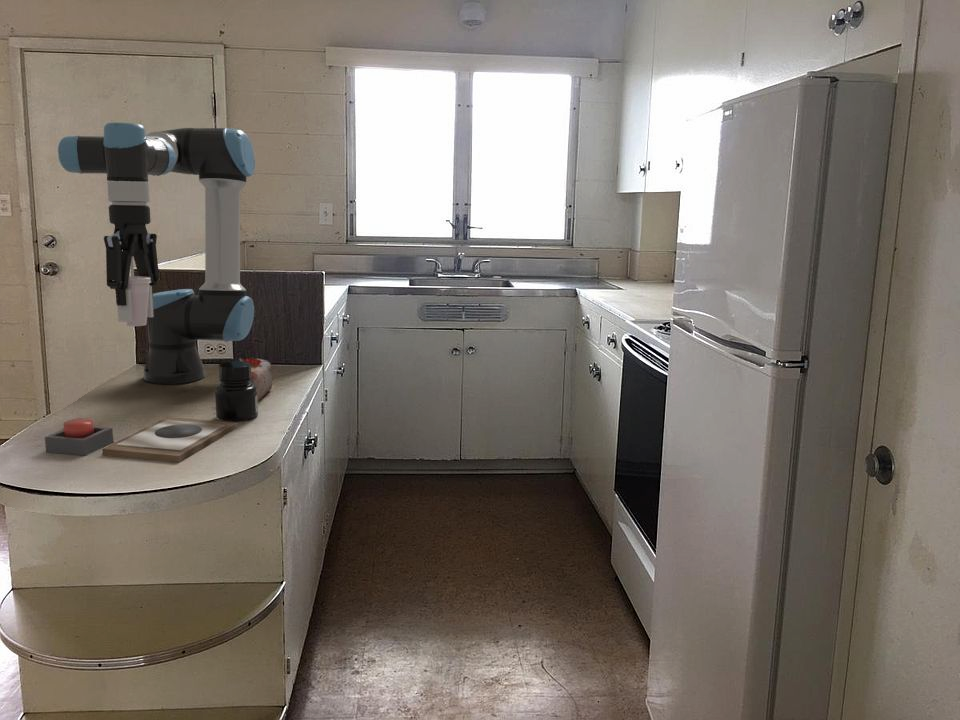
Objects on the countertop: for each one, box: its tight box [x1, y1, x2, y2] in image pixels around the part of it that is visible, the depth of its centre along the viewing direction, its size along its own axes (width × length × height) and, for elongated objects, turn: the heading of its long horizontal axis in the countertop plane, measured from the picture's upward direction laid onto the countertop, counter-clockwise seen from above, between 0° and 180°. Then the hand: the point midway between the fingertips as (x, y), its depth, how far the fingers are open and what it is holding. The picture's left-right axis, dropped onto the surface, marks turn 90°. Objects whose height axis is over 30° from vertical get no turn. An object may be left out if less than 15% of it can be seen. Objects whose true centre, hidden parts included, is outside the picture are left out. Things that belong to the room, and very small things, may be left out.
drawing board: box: [101, 416, 238, 463], centre depth 160 cm, size 22×16×2 cm
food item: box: [238, 356, 273, 402], centre depth 193 cm, size 14×8×10 cm, turn 179°
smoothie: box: [125, 256, 151, 327], centre depth 161 cm, size 6×6×14 cm
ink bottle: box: [214, 360, 259, 422], centre depth 176 cm, size 10×9×12 cm
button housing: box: [44, 425, 114, 456], centre depth 155 cm, size 8×8×3 cm
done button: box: [62, 418, 95, 438], centre depth 154 cm, size 5×5×2 cm
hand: (136, 318), depth 162 cm, fingers closed on smoothie, 6 cm apart
